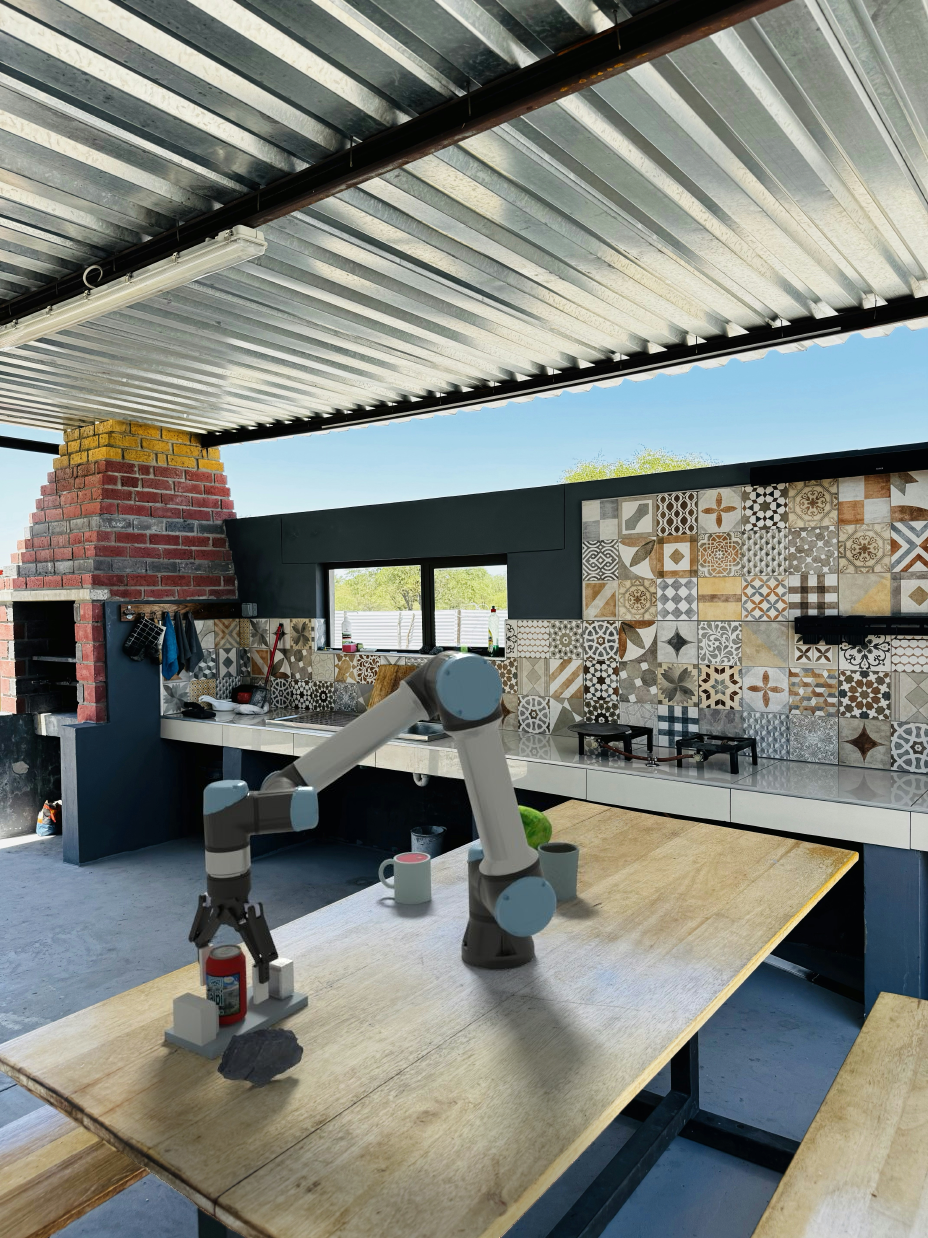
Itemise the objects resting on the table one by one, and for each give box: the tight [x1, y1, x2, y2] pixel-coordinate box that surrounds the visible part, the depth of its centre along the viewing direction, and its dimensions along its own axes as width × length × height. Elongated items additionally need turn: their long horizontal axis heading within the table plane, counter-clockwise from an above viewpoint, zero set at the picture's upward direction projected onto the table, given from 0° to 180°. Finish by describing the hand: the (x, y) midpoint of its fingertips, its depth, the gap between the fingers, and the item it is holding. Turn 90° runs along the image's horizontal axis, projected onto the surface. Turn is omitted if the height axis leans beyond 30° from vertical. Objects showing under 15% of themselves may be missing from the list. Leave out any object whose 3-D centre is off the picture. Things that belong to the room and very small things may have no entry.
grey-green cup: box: [537, 841, 580, 903], centre depth 208 cm, size 10×10×12 cm
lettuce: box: [518, 805, 553, 852], centre depth 244 cm, size 15×20×14 cm
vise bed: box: [163, 985, 309, 1060], centre depth 148 cm, size 12×22×8 cm, turn 147°
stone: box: [216, 1027, 305, 1088], centre depth 127 cm, size 14×6×10 cm, turn 150°
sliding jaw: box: [251, 955, 295, 1000], centre depth 154 cm, size 7×4×6 cm, turn 57°
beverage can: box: [205, 943, 248, 1026], centre depth 145 cm, size 7×7×12 cm
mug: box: [378, 851, 432, 905], centre depth 209 cm, size 14×9×10 cm
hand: (233, 992), depth 146 cm, fingers open, 13 cm apart
